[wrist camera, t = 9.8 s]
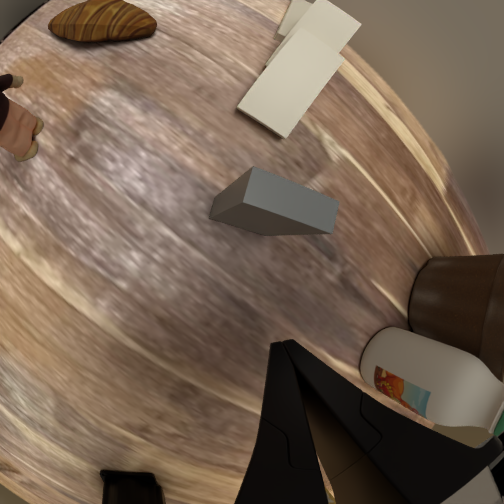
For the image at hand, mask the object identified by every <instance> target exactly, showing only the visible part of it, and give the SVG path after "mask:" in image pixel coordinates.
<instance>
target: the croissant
mask: <svg viewBox="0 0 504 504" xmlns="http://www.w3.org/2000/svg"><path fill="white" fill-rule="evenodd" d="M156 27H157V22H156V20H155V19H154V18H153V17H151V16H150V15H149V14H148V13H147V12H145V11H144V10H142V9H140V8H138V7H136V6H134V5H133V4H130V3H127V2H125V1H124V0H88V1H86V2H83V3H79V4H77V5H74V6H72V7H70V8H68V9H66V10H64V11H62V12H61V13H59V14H58V15H57V16H55V17H54V18H53V19H51V20H50V22H49V24H48V29H49V30H50V31H51V32H53V33H55V34H56V35H58V36H60V37H62V38H65V39H71V40H76V41H82V42H88V43H89V42H103V41H109V40H113V41H123V40H131V39H139V38H144V37H150V36H151V35H152V34H153V33H154V32H155V30H156Z"/></svg>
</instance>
